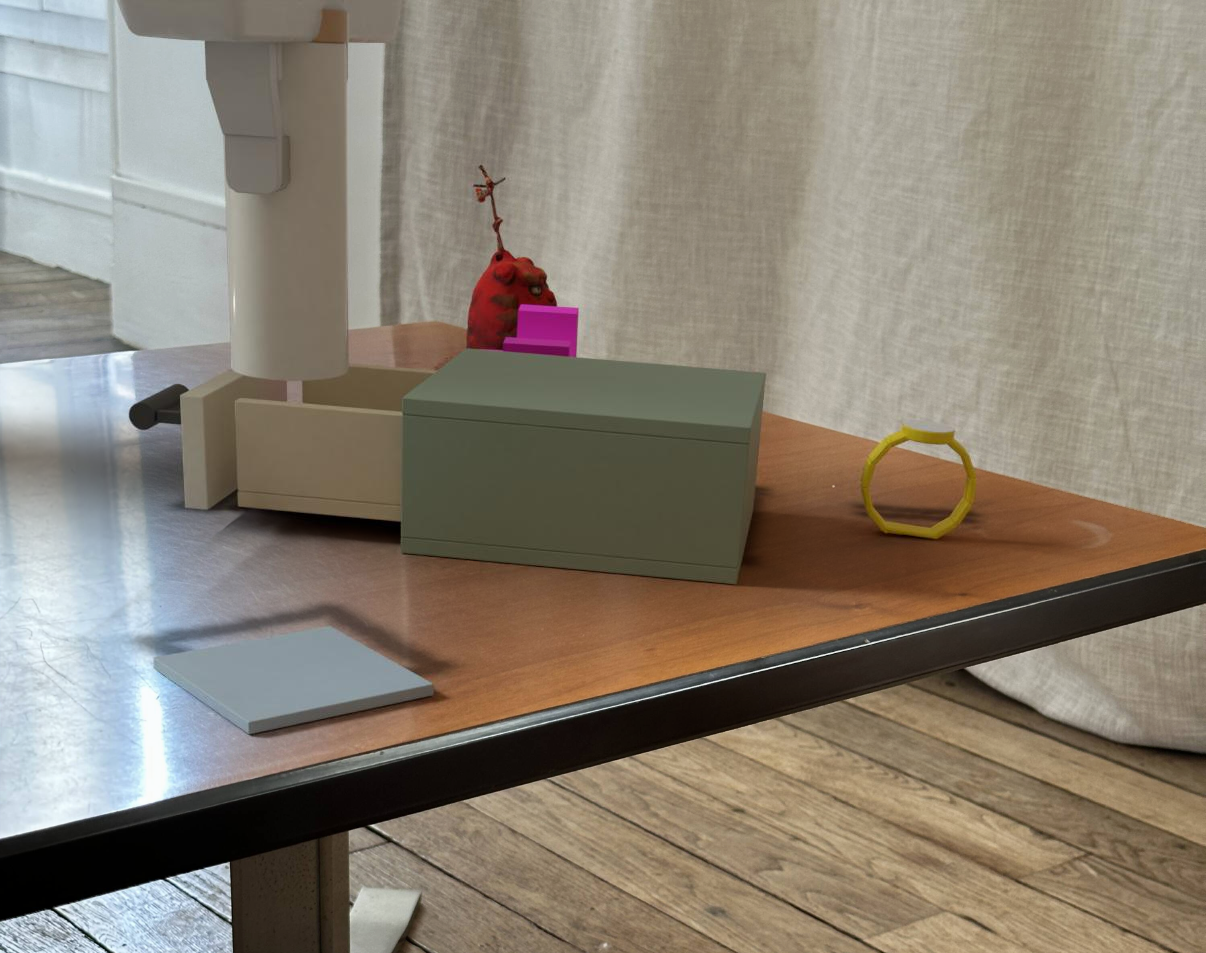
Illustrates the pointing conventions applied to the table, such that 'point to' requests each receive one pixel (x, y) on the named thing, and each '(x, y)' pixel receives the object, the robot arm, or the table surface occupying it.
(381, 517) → the drawer
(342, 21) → the spice jar
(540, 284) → the red clay folk toy
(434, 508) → the cabinet
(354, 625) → the table surface
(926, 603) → the table surface
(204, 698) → the mat
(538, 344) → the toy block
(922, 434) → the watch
